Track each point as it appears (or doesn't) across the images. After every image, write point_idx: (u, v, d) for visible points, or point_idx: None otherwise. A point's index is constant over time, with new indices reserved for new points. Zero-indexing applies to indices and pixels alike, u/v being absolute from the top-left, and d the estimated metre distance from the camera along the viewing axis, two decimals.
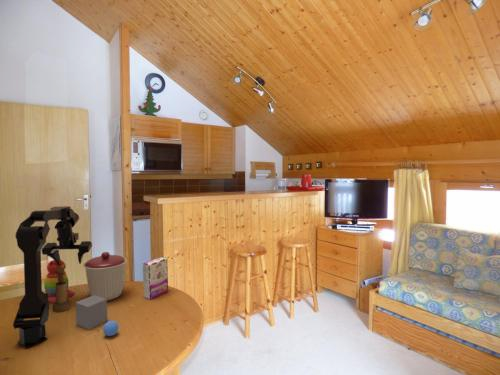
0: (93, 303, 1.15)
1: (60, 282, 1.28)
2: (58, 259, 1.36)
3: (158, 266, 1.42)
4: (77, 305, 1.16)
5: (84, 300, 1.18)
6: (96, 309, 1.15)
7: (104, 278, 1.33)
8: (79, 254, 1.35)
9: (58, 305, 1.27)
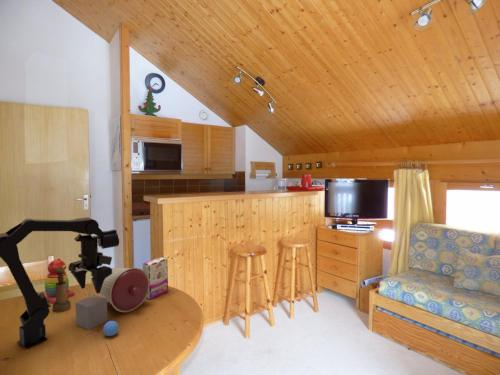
0: (93, 303, 1.15)
1: (60, 282, 1.28)
2: (81, 281, 1.19)
3: (158, 266, 1.42)
4: (77, 305, 1.16)
5: (84, 300, 1.18)
6: (96, 309, 1.15)
7: None
8: (92, 279, 1.12)
9: (58, 305, 1.27)
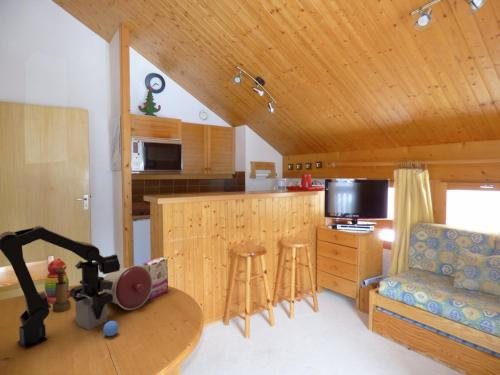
0: None
1: (60, 282, 1.28)
2: None
3: (158, 266, 1.42)
4: (77, 305, 1.16)
5: (84, 300, 1.18)
6: None
7: None
8: (93, 306, 1.13)
9: (58, 305, 1.27)
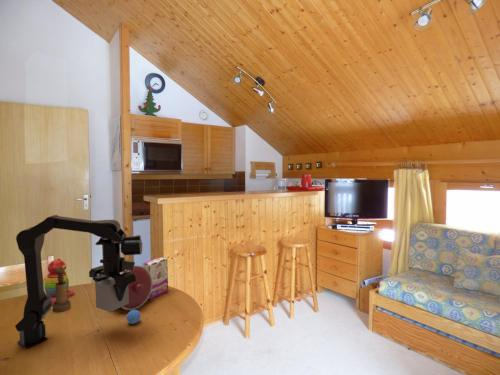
0: (114, 283, 1.07)
1: (60, 282, 1.28)
2: None
3: (158, 266, 1.42)
4: (97, 285, 1.07)
5: (104, 281, 1.09)
6: None
7: None
8: (115, 286, 1.04)
9: (58, 305, 1.27)
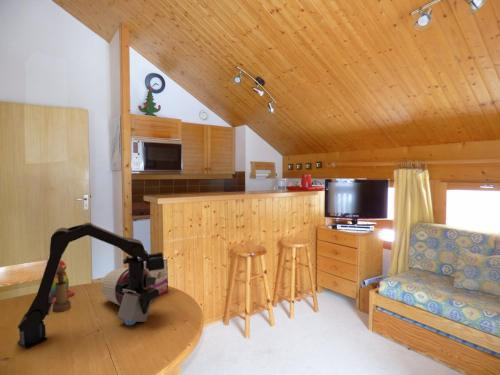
0: None
1: (60, 282, 1.28)
2: None
3: None
4: (125, 295, 1.18)
5: (131, 294, 1.21)
6: None
7: None
8: (140, 301, 1.14)
9: (58, 305, 1.27)
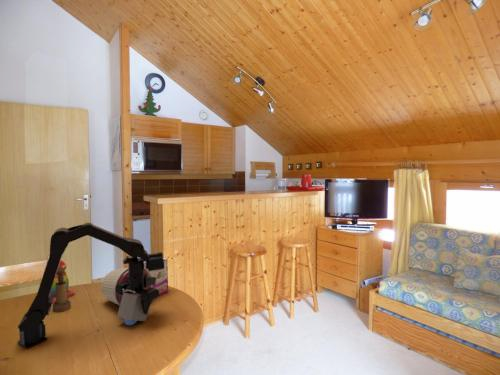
0: None
1: (60, 282, 1.28)
2: None
3: None
4: (124, 295, 1.18)
5: None
6: None
7: None
8: (142, 301, 1.14)
9: (58, 305, 1.27)
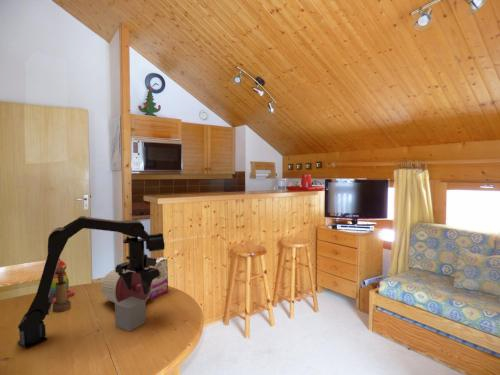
0: (133, 305, 1.14)
1: (60, 282, 1.28)
2: (128, 282, 1.21)
3: (158, 266, 1.42)
4: (117, 307, 1.14)
5: (123, 302, 1.17)
6: (136, 311, 1.14)
7: None
8: (142, 281, 1.14)
9: (58, 305, 1.27)
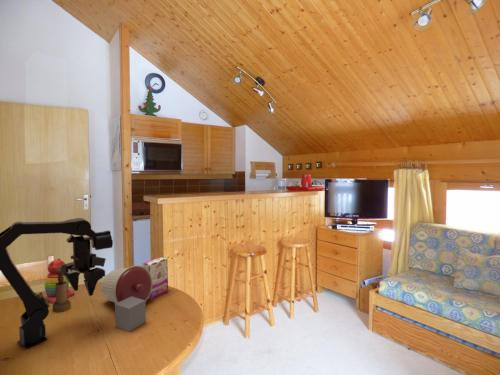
0: (133, 305, 1.14)
1: (60, 282, 1.28)
2: (74, 283, 1.16)
3: (158, 266, 1.42)
4: (117, 307, 1.14)
5: (123, 302, 1.17)
6: (136, 311, 1.14)
7: None
8: (85, 281, 1.09)
9: (58, 305, 1.27)
